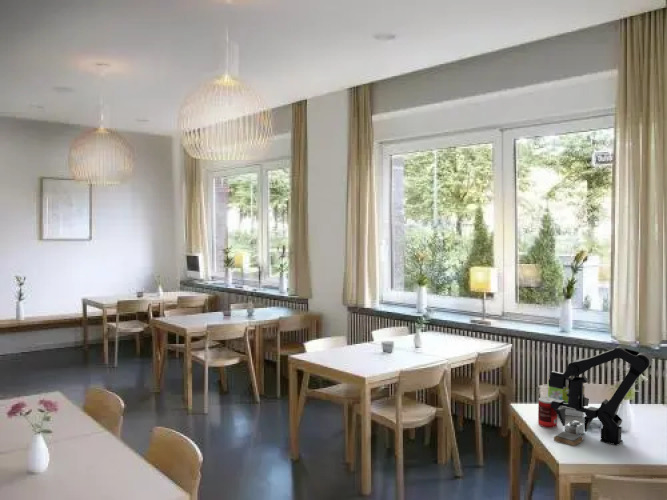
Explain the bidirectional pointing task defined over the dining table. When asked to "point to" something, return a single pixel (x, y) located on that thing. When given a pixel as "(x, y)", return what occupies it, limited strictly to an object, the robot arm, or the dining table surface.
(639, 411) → the dining table surface
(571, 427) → the housing
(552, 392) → the tea box
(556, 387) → the robot arm
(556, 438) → the stand
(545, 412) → the canned food
